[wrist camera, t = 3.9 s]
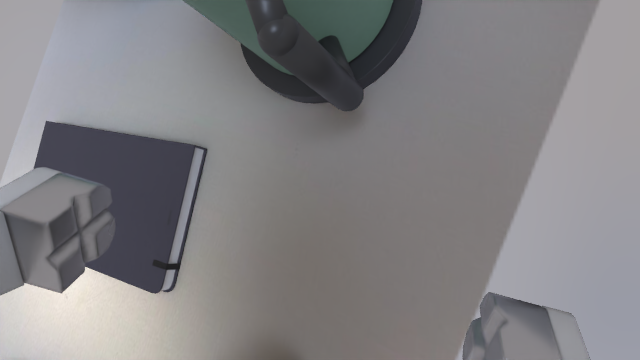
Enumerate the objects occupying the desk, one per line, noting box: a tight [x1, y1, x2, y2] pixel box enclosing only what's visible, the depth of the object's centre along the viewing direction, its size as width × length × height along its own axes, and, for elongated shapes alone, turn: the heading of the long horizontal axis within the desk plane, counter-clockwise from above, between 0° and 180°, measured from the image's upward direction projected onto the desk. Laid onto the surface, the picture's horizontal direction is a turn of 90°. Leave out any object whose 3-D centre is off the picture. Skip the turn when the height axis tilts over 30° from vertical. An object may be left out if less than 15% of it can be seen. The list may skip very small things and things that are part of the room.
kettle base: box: [241, 0, 422, 103], centre depth 33 cm, size 15×15×2 cm
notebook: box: [34, 121, 207, 293], centre depth 41 cm, size 13×2×21 cm
